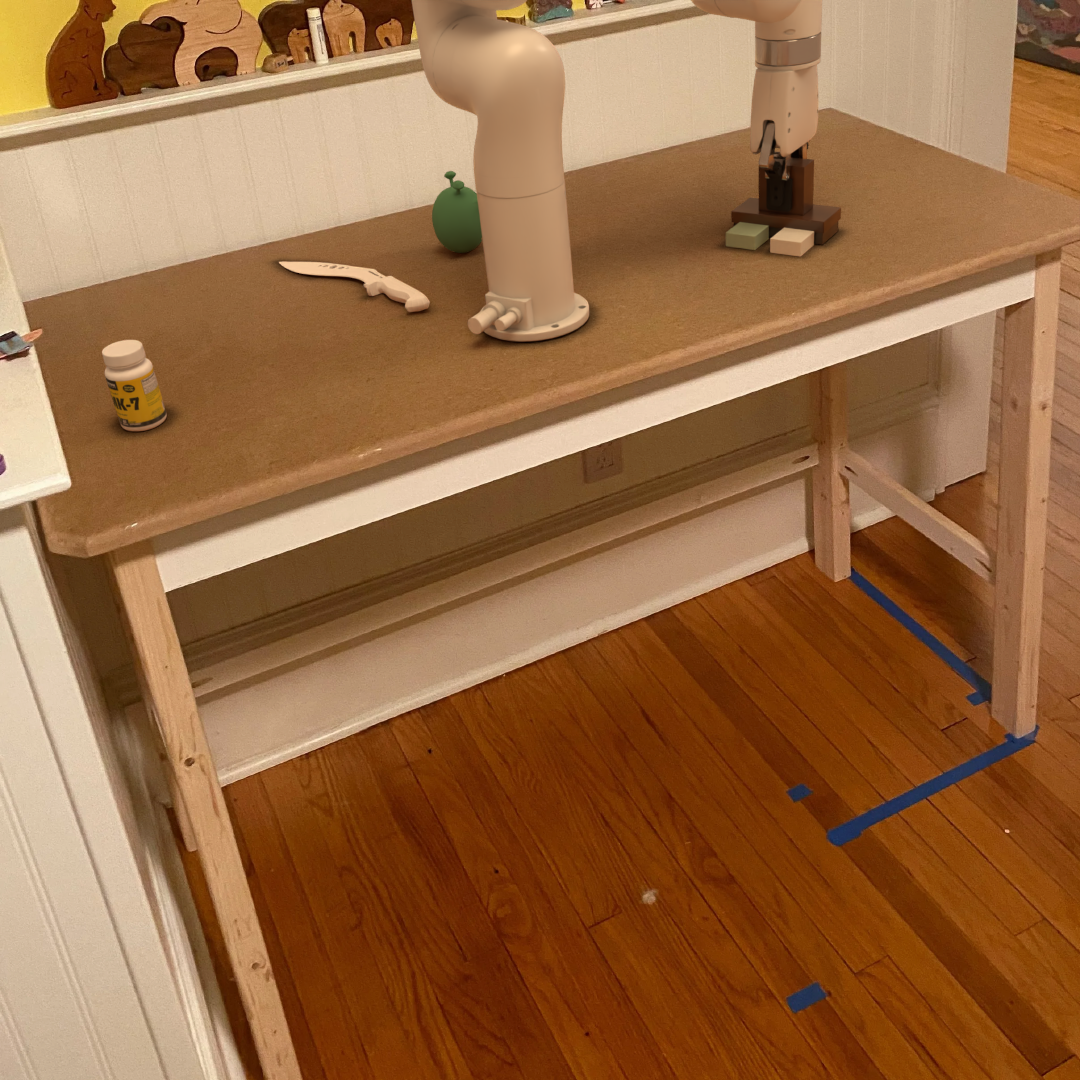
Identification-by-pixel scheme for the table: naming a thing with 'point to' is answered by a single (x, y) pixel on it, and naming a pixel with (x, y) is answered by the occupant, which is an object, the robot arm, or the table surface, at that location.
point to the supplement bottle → (133, 386)
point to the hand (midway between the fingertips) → (785, 203)
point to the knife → (371, 277)
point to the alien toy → (457, 217)
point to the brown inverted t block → (802, 210)
